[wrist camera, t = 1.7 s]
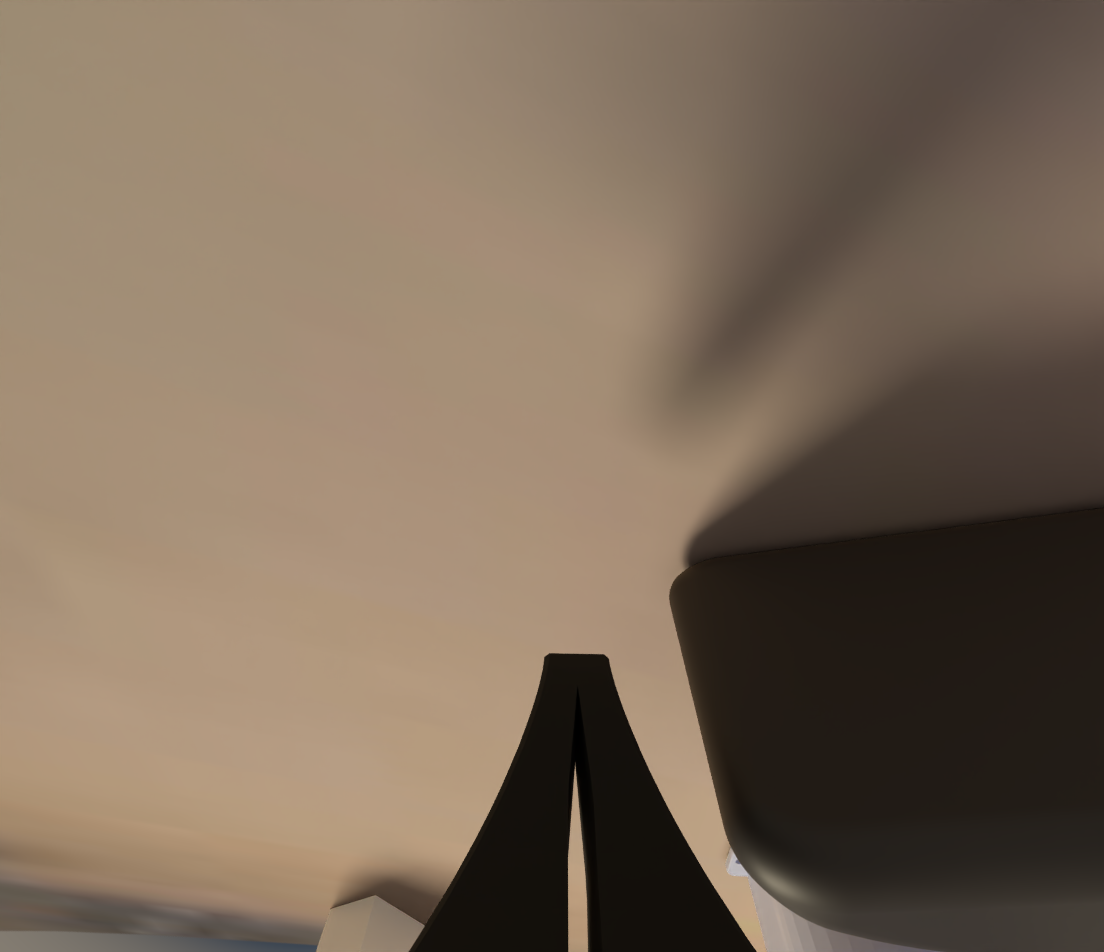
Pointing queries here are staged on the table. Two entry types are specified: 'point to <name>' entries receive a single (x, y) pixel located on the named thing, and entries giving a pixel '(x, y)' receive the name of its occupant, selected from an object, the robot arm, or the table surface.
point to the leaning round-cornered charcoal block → (913, 729)
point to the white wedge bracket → (368, 928)
